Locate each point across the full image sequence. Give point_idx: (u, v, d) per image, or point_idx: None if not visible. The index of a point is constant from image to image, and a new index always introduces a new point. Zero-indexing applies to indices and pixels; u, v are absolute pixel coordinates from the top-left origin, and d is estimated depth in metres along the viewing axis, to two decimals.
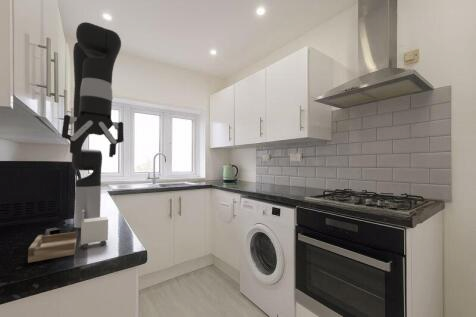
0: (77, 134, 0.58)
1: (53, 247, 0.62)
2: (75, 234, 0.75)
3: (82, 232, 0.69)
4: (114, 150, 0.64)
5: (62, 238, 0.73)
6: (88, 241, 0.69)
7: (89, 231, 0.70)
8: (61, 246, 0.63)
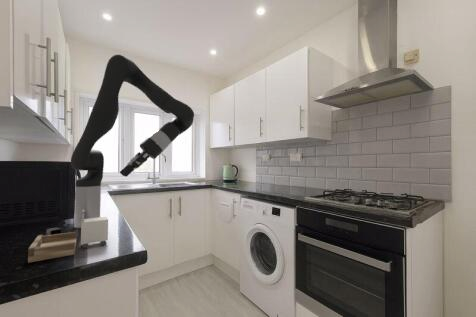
0: None
1: (53, 247, 0.62)
2: (75, 234, 0.75)
3: (82, 232, 0.69)
4: None
5: (62, 238, 0.73)
6: (88, 241, 0.69)
7: (89, 231, 0.70)
8: (61, 246, 0.63)
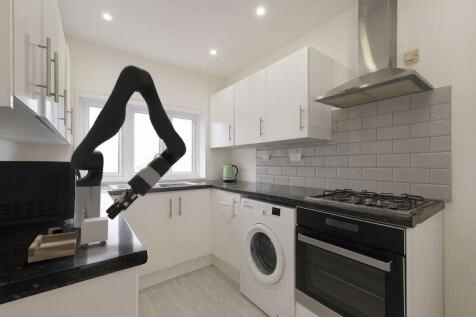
0: None
1: (53, 247, 0.62)
2: (75, 234, 0.75)
3: (82, 232, 0.69)
4: (113, 210, 0.80)
5: (62, 238, 0.73)
6: (88, 241, 0.69)
7: (89, 231, 0.70)
8: (61, 246, 0.63)
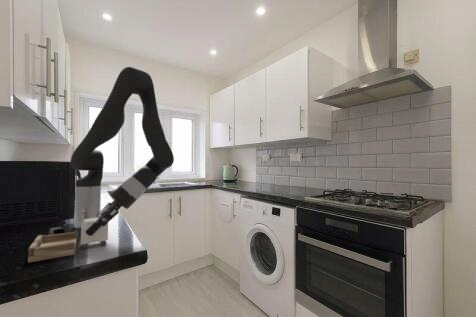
0: None
1: (53, 247, 0.62)
2: (75, 234, 0.75)
3: (82, 232, 0.69)
4: None
5: (62, 238, 0.73)
6: (88, 241, 0.69)
7: None
8: (61, 246, 0.63)
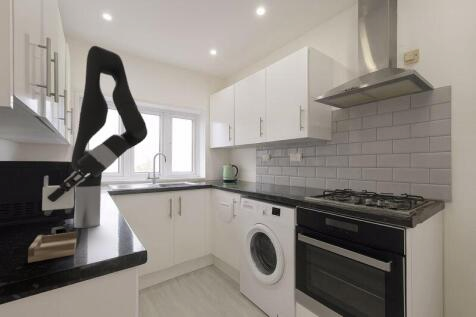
0: None
1: (53, 247, 0.62)
2: (75, 234, 0.75)
3: (44, 197, 0.65)
4: None
5: (62, 238, 0.73)
6: (51, 207, 0.65)
7: None
8: (61, 246, 0.63)
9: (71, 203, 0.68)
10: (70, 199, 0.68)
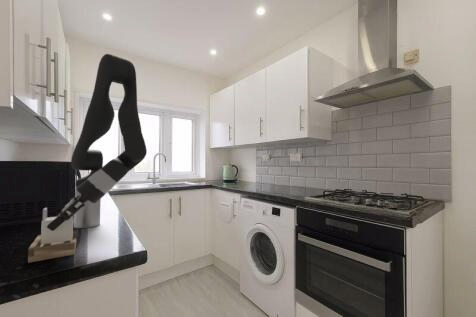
0: (70, 215, 0.67)
1: (53, 247, 0.62)
2: (75, 234, 0.75)
3: (42, 231, 0.64)
4: None
5: None
6: (49, 241, 0.65)
7: None
8: (61, 246, 0.63)
9: (70, 235, 0.68)
10: (69, 231, 0.68)
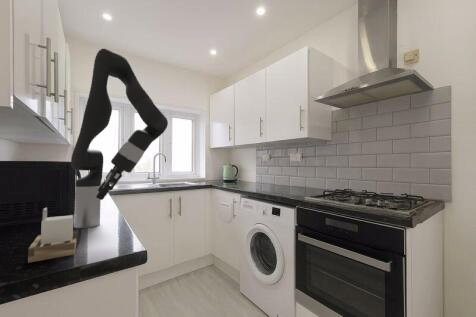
0: None
1: (53, 247, 0.62)
2: (75, 234, 0.75)
3: (42, 231, 0.64)
4: None
5: None
6: (49, 241, 0.65)
7: (51, 230, 0.65)
8: (61, 246, 0.63)
9: (70, 235, 0.68)
10: (69, 231, 0.68)
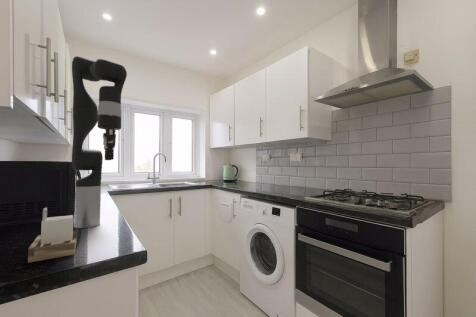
0: None
1: (53, 247, 0.62)
2: (75, 234, 0.75)
3: (42, 231, 0.64)
4: None
5: None
6: (49, 241, 0.65)
7: (51, 230, 0.65)
8: (61, 246, 0.63)
9: (70, 235, 0.68)
10: (69, 231, 0.68)
